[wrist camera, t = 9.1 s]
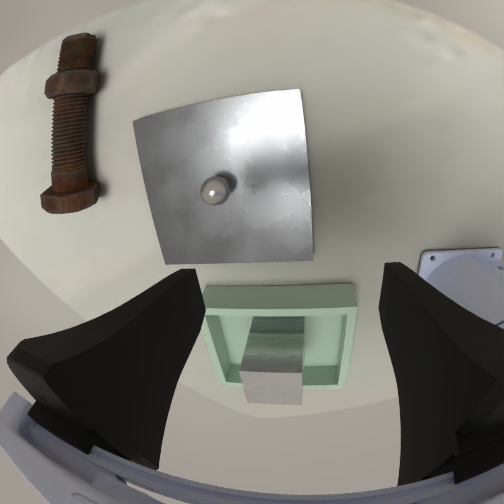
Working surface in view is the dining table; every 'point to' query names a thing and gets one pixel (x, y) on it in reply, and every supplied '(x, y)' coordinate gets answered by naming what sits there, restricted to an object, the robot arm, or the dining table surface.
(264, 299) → the parts tray
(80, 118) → the bolt
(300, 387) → the grey metal block
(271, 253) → the stud plate
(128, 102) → the dining table surface
